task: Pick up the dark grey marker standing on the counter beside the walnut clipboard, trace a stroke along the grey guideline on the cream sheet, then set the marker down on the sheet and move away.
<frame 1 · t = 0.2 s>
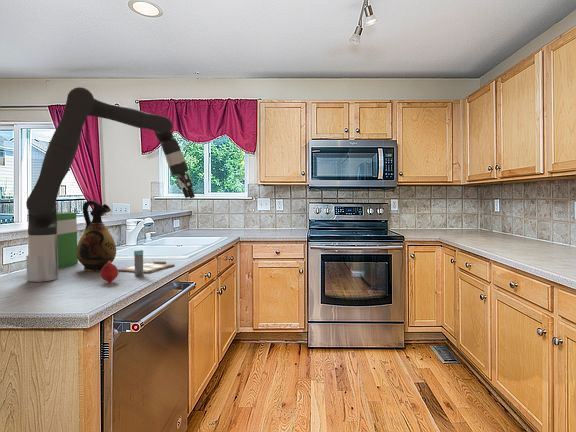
hand: (190, 197, 171), 31 cm above the countertop, tool tilted 20°, fingers open, 8 cm apart
hardback book: (58, 267, 173), on the countertop
clipboard: (147, 268, 167), on the countertop
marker: (139, 275, 153), on the countertop
ceramic jug: (95, 269, 166), on the countertop
onion: (109, 283, 140), on the countertop
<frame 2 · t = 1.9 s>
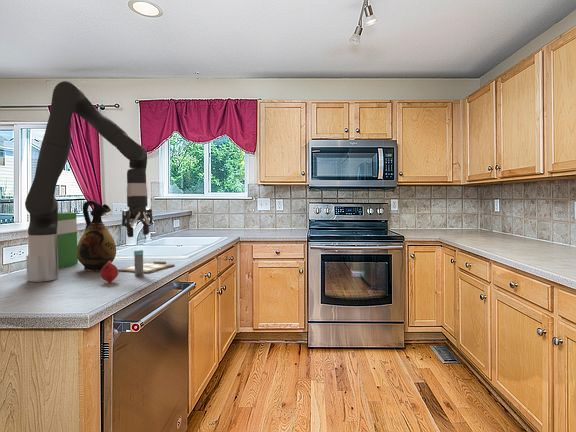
hand: (138, 235, 152), 16 cm above the countertop, tool pointing down, fingers open, 8 cm apart
nothing on the countertop moved.
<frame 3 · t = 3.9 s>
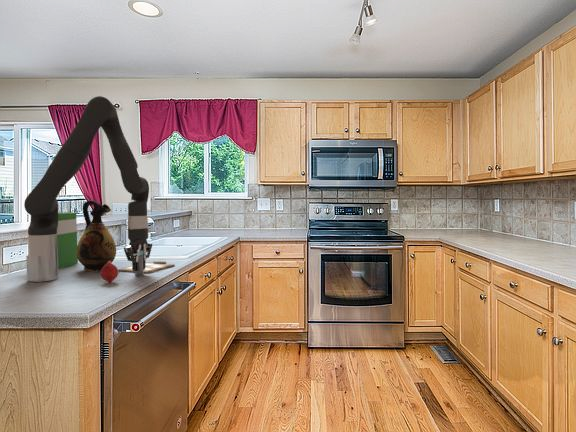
hand: (139, 270, 152), 2 cm above the countertop, tool pointing down, fingers closed on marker, 3 cm apart
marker: (139, 275, 153), on the countertop, touching gripper
everything else where it was.
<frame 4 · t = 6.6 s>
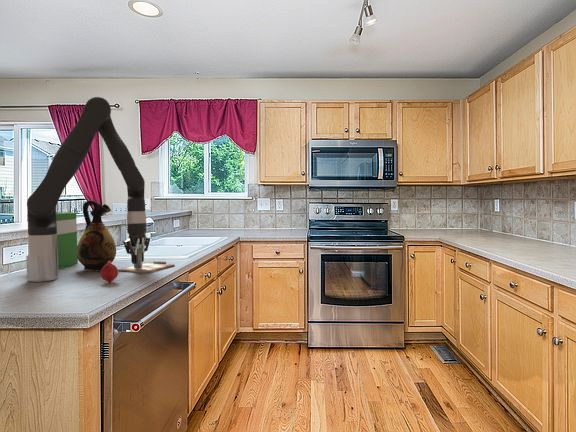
hand: (137, 262, 161), 4 cm above the countertop, tool pointing down, fingers closed on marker, 3 cm apart
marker: (138, 267, 162), point 1 cm above the countertop, touching gripper
everything else where it was.
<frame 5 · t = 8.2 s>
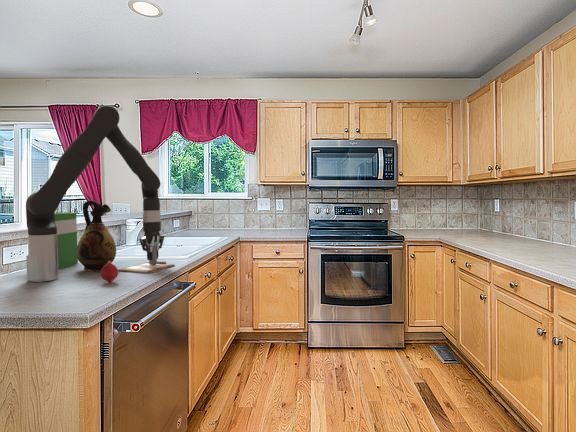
hand: (152, 259, 170), 4 cm above the countertop, tool pointing down, fingers closed on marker, 3 cm apart
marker: (153, 264, 170), point 1 cm above the countertop, touching gripper
everything else where it was.
when the fingers open (3 cm above the countertop, at t = 9.4 s): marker stays where it is, resting on clipboard.
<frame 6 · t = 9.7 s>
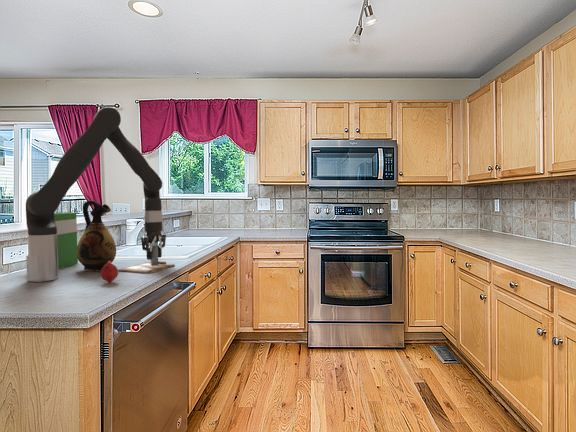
hand: (154, 258, 171), 4 cm above the countertop, tool pointing down, fingers open, 5 cm apart
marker: (154, 264, 171), point 1 cm above the countertop, touching clipboard
everything else where it was.
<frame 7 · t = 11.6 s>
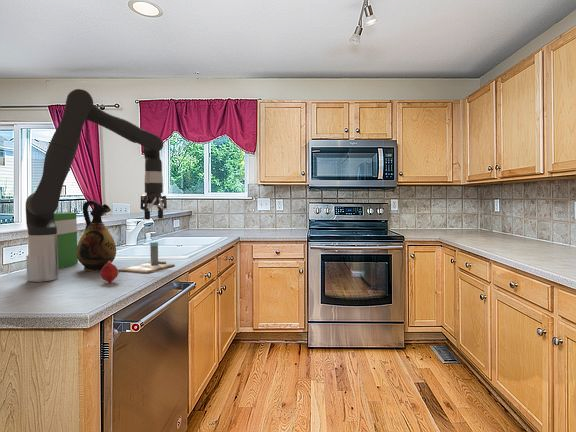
hand: (154, 219, 169), 21 cm above the countertop, tool pointing down, fingers open, 8 cm apart
nothing on the countertop moved.
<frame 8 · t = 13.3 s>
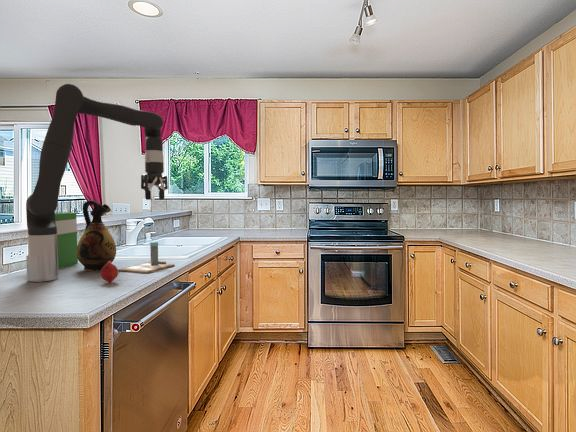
hand: (155, 199, 165), 30 cm above the countertop, tool pointing down, fingers open, 8 cm apart
nothing on the countertop moved.
at the end: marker inside the target area on the clipboard (4.5 cm from its centre), point 1.0 cm above the clipboard's base; the gripper is holding nothing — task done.
